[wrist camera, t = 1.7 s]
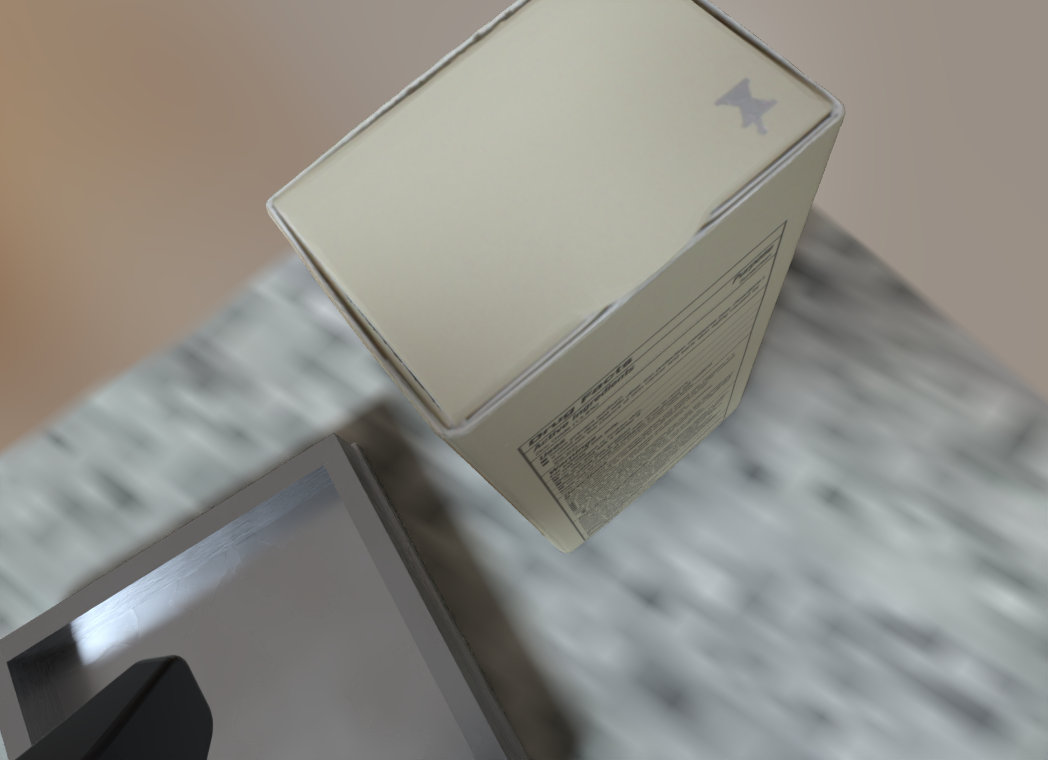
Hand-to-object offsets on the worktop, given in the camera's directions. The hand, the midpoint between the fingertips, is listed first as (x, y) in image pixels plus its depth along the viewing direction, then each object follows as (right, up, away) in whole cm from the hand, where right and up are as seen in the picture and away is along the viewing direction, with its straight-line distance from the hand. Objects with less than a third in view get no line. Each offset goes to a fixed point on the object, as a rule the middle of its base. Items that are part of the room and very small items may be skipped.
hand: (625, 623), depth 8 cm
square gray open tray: (-7, -6, +12) cm, 15 cm away
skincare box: (+1, +1, +13) cm, 13 cm away
